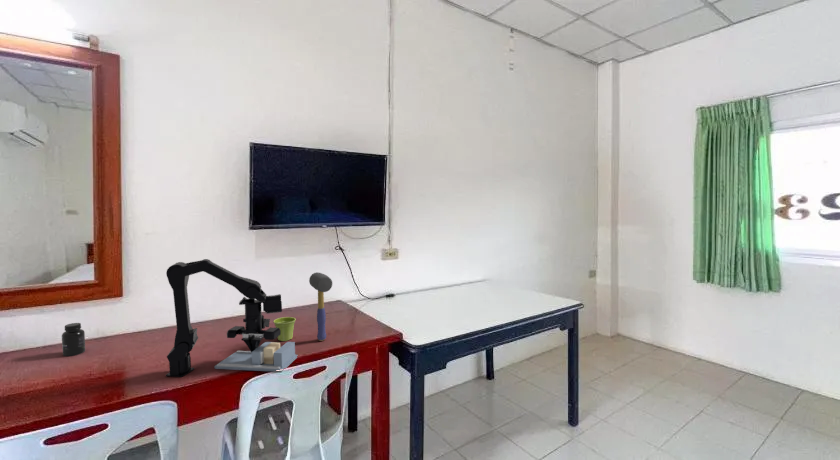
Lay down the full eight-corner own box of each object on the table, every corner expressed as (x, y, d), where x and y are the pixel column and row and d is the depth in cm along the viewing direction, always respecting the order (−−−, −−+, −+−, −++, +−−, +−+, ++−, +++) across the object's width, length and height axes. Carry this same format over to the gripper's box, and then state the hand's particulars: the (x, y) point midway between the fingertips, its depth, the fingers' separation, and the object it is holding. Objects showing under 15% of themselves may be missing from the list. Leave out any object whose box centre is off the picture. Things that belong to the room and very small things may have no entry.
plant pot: (274, 336, 170) (273, 318, 169) (295, 334, 173) (295, 315, 173) (273, 344, 161) (273, 324, 161) (296, 341, 165) (296, 322, 164)
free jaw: (261, 365, 137) (260, 352, 137) (252, 365, 137) (251, 351, 137) (274, 354, 147) (274, 342, 147) (266, 354, 147) (265, 341, 147)
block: (273, 364, 139) (272, 348, 138) (264, 363, 139) (263, 348, 139) (280, 357, 145) (280, 342, 144) (272, 357, 145) (271, 342, 145)
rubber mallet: (309, 337, 169) (307, 272, 167) (325, 334, 173) (324, 270, 171) (318, 346, 158) (316, 276, 156) (334, 342, 163) (333, 274, 160)
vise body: (282, 371, 135) (281, 354, 134) (214, 368, 137) (213, 351, 137) (297, 357, 148) (297, 341, 147) (235, 354, 150) (235, 338, 150)
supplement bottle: (58, 357, 147) (56, 328, 146) (69, 351, 154) (67, 322, 153) (79, 355, 149) (77, 326, 148) (89, 349, 156) (87, 321, 155)
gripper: (286, 309, 148) (287, 347, 150) (242, 307, 150) (243, 345, 151) (272, 318, 137) (274, 359, 138) (225, 316, 139) (226, 356, 140)
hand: (254, 354), depth 142 cm, fingers closed
